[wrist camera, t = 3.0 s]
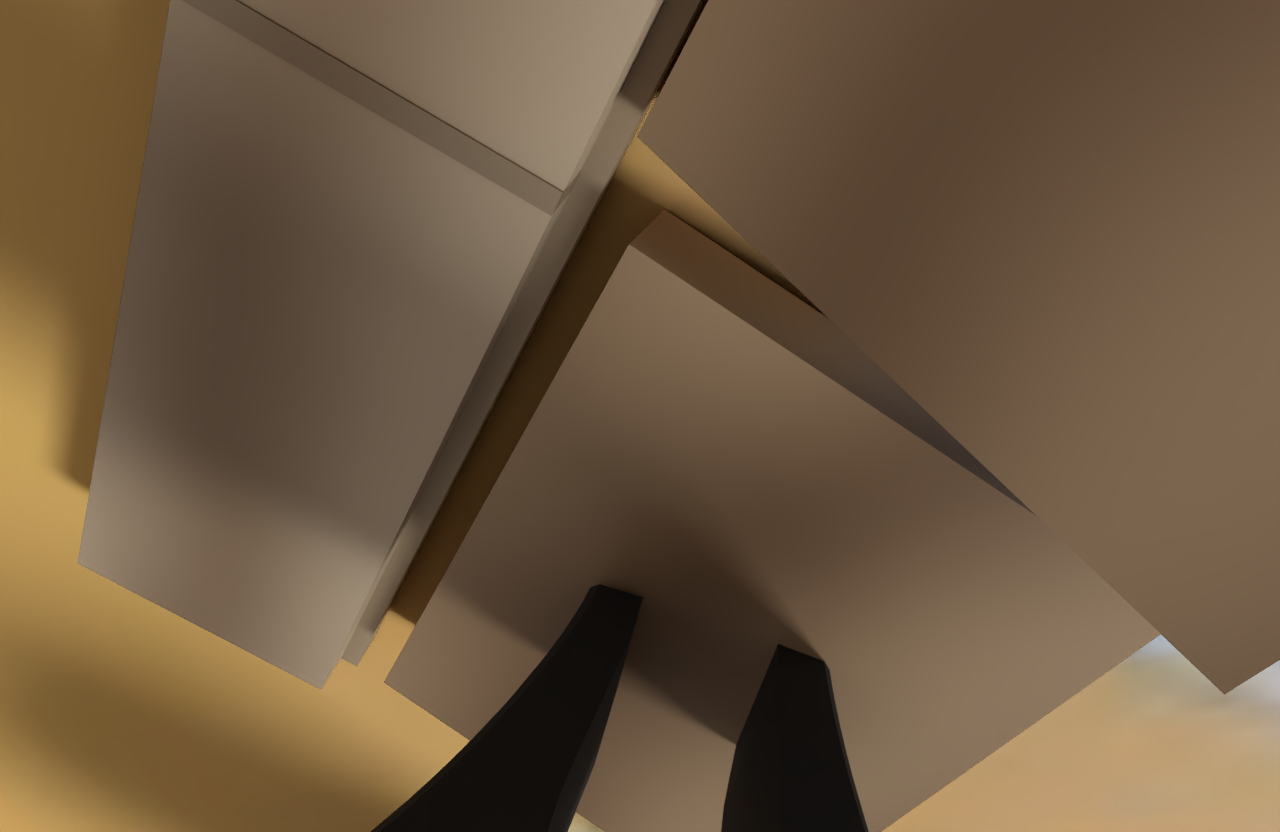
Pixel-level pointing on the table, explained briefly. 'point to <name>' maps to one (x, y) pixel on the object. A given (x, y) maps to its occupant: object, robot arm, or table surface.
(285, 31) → the laid board
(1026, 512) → the plank
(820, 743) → the robot arm
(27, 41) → the table surface
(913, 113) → the plank
